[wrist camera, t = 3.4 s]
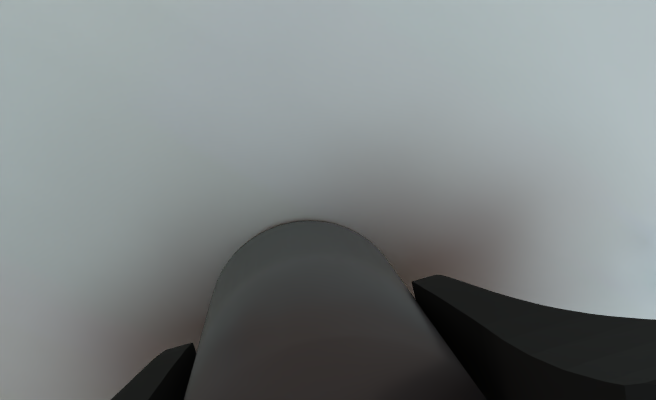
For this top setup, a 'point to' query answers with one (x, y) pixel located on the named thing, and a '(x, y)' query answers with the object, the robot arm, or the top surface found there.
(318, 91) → the top surface
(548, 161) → the top surface
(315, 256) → the dark gray cylinder
